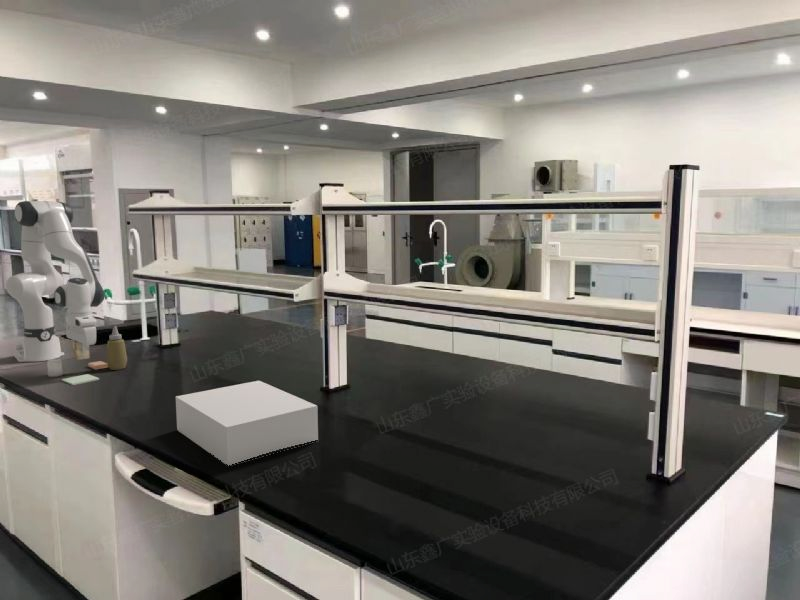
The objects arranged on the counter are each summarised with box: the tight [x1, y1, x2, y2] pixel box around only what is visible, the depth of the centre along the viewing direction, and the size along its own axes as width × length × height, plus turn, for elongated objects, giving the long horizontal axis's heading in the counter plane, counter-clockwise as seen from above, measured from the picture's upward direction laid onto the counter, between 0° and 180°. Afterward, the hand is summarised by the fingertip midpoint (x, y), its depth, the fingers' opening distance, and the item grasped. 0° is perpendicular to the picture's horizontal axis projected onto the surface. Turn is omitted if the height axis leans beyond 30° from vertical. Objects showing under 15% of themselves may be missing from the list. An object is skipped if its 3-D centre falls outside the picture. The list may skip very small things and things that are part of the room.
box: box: [175, 380, 319, 467], centre depth 180 cm, size 28×35×11 cm
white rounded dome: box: [46, 358, 63, 378], centre depth 248 cm, size 5×5×6 cm
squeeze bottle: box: [106, 325, 128, 371], centre depth 257 cm, size 8×8×18 cm
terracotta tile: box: [87, 360, 109, 370], centre depth 261 cm, size 7×5×2 cm
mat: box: [61, 373, 100, 386], centre depth 240 cm, size 10×10×1 cm
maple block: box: [72, 340, 91, 361], centre depth 250 cm, size 4×4×7 cm
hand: (81, 352), depth 250 cm, fingers closed on maple block, 4 cm apart
